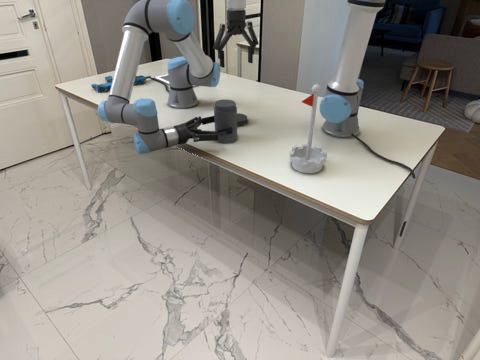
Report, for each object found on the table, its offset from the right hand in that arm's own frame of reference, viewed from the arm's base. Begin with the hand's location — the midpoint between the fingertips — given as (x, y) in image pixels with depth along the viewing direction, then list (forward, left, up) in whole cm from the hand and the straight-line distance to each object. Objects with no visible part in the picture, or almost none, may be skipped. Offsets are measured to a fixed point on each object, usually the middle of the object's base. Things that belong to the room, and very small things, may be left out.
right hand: (236, 64), depth 144 cm
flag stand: (-47, -6, -26) cm, 54 cm away
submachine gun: (+84, +40, -26) cm, 96 cm away
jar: (-14, +11, -26) cm, 32 cm away
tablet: (+74, +5, -26) cm, 78 cm away
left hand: (-14, +12, -19) cm, 27 cm away
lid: (0, 0, -24) cm, 24 cm away
